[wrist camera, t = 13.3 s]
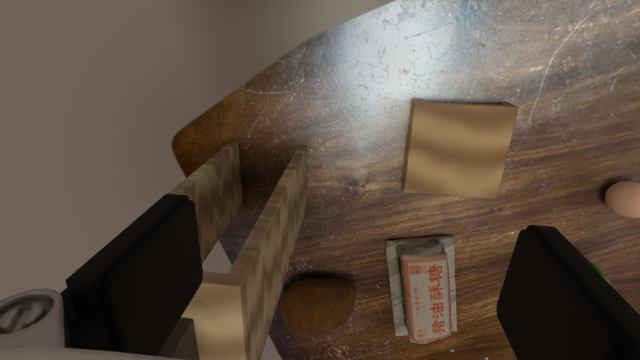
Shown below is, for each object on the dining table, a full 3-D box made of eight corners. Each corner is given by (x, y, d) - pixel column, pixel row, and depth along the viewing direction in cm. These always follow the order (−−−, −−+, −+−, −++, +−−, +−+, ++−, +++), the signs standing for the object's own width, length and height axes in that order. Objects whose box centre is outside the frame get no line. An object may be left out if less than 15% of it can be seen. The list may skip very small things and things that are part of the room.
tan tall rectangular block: (230, 141, 50) (73, 271, 23) (307, 145, 49) (240, 286, 22) (235, 204, 54) (106, 381, 27) (306, 209, 53) (248, 397, 26)
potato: (357, 311, 60) (357, 354, 52) (288, 309, 61) (277, 351, 53) (355, 269, 57) (355, 308, 49) (282, 269, 58) (270, 307, 50)
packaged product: (386, 257, 49) (460, 251, 48) (383, 238, 54) (452, 232, 52) (397, 352, 56) (463, 350, 54) (394, 329, 60) (455, 326, 59)
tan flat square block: (411, 98, 46) (415, 102, 43) (509, 102, 44) (518, 107, 42) (401, 184, 50) (403, 193, 47) (489, 189, 49) (496, 198, 46)
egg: (594, 180, 47) (624, 199, 42) (632, 170, 46) (667, 188, 41) (598, 209, 49) (626, 230, 43) (635, 200, 48) (668, 220, 42)
